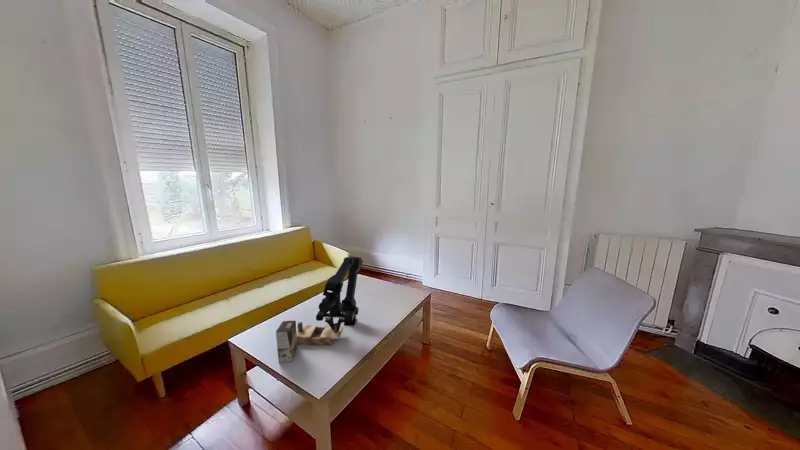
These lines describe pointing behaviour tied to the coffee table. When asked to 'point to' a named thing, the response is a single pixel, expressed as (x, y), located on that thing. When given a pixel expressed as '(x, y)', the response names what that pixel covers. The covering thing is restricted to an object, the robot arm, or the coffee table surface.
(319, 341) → the walnut box
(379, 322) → the coffee table surface
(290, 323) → the coffee box
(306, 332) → the lid
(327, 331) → the lid
